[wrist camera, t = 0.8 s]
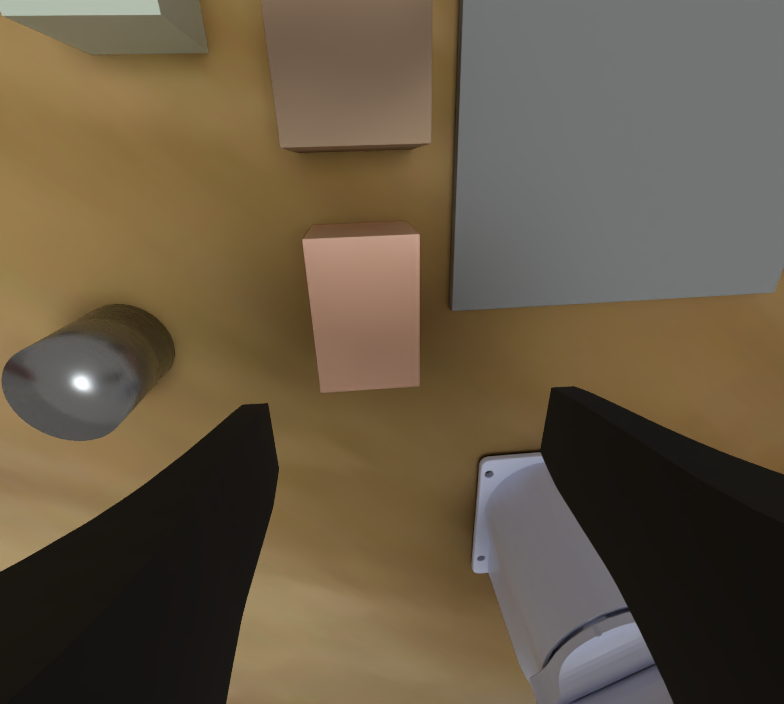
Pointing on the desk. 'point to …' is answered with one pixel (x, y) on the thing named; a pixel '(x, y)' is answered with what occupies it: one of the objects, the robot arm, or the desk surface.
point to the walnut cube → (350, 73)
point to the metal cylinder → (89, 372)
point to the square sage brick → (115, 24)
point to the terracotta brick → (365, 304)
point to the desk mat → (617, 151)
